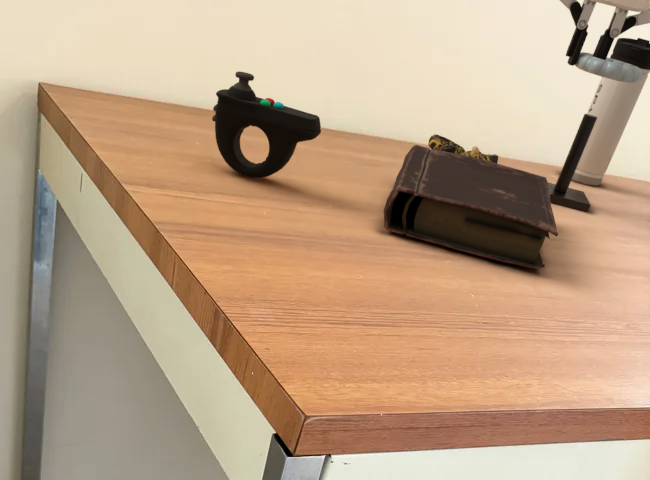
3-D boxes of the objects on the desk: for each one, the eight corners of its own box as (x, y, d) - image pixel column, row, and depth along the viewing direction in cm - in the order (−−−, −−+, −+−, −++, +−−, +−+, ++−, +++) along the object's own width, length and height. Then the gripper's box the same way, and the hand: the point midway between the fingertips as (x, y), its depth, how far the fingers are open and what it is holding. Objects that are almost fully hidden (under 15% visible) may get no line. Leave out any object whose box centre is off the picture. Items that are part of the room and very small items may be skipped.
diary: (377, 230, 88) (391, 182, 85) (397, 180, 108) (409, 139, 105) (548, 278, 87) (568, 230, 84) (536, 218, 107) (553, 178, 104)
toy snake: (439, 113, 126) (500, 136, 126) (426, 144, 129) (487, 166, 128) (431, 138, 112) (500, 163, 112) (417, 172, 115) (485, 197, 115)
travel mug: (603, 183, 135) (665, 44, 123) (595, 188, 130) (657, 44, 118) (567, 171, 137) (624, 33, 125) (557, 175, 132) (615, 33, 120)
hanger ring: (631, 79, 113) (637, 65, 112) (643, 88, 106) (650, 72, 105) (569, 63, 113) (574, 48, 112) (576, 70, 106) (582, 54, 105)
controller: (213, 159, 98) (228, 65, 92) (310, 189, 96) (332, 95, 90) (199, 165, 95) (214, 68, 89) (300, 196, 93) (322, 99, 87)
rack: (580, 198, 122) (615, 118, 116) (587, 212, 116) (624, 128, 109) (528, 184, 123) (559, 103, 116) (532, 197, 116) (565, 112, 110)
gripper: (588, -124, 96) (524, 54, 107) (723, -90, 95) (645, 86, 106) (580, -120, 102) (521, 49, 113) (708, -88, 101) (635, 79, 112)
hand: (581, 65), depth 110 cm, fingers closed on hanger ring, 2 cm apart
